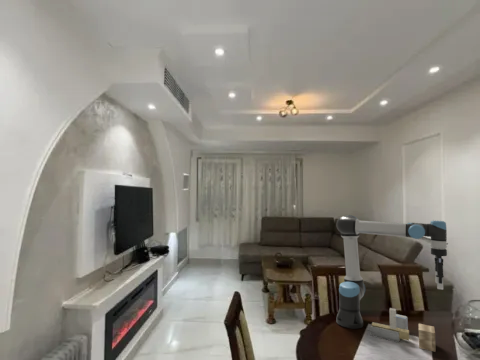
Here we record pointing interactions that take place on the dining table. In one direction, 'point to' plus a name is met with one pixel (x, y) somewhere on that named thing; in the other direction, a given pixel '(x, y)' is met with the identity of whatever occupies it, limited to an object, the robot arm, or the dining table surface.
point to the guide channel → (384, 333)
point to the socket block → (427, 337)
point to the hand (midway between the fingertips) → (439, 286)
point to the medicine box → (401, 321)
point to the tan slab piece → (394, 326)
